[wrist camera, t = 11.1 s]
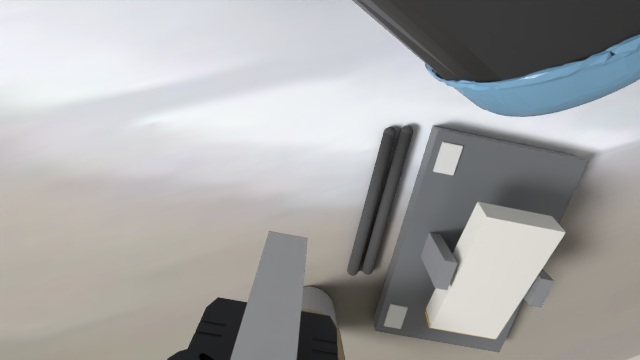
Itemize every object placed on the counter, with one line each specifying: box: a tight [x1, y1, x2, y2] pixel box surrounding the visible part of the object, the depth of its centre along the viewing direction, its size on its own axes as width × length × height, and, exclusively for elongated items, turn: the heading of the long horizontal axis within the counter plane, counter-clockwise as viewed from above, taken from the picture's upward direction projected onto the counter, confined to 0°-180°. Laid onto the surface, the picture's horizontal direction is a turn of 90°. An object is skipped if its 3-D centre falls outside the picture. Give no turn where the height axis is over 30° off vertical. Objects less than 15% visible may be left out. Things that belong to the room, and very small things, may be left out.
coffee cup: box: [301, 286, 345, 360], centre depth 38 cm, size 9×9×15 cm
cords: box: [347, 126, 413, 276], centre depth 40 cm, size 18×3×1 cm, turn 169°
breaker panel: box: [373, 126, 588, 352], centre depth 38 cm, size 24×15×8 cm, turn 169°
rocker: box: [425, 202, 566, 339], centre depth 36 cm, size 14×7×2 cm, turn 169°
